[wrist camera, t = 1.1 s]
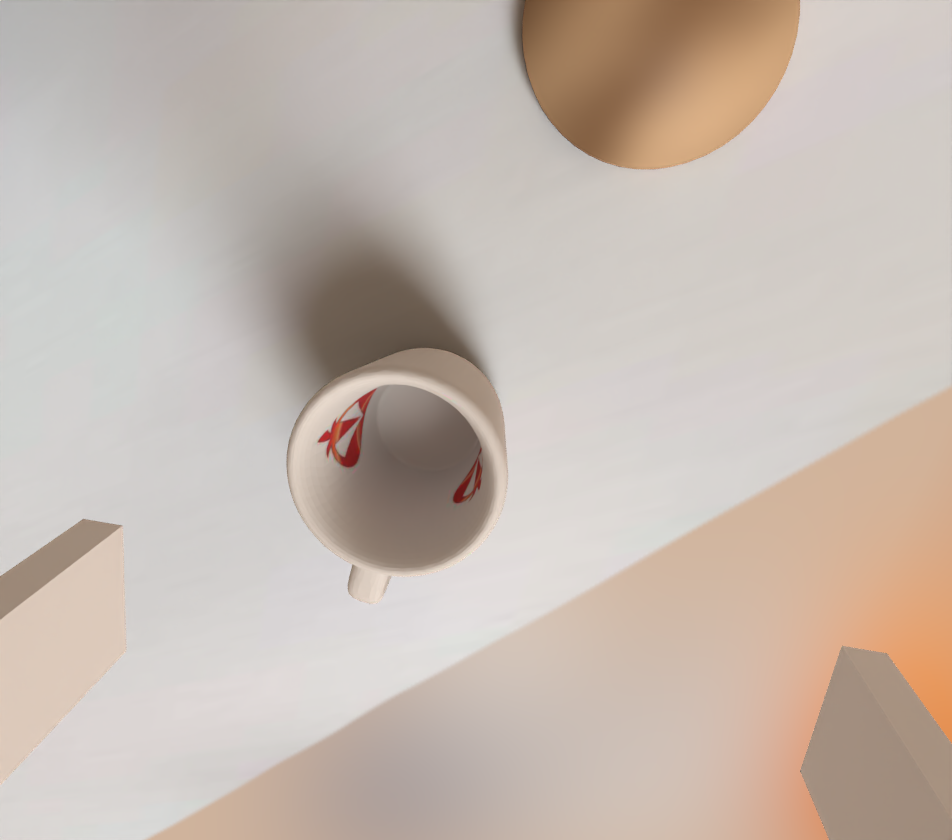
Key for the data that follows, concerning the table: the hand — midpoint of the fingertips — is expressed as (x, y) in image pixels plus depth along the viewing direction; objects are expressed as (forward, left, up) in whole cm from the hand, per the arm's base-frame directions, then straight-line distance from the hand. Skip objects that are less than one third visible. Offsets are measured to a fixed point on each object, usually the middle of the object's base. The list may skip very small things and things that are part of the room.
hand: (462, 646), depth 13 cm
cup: (-3, -4, -20) cm, 21 cm away
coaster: (0, +15, -20) cm, 25 cm away
